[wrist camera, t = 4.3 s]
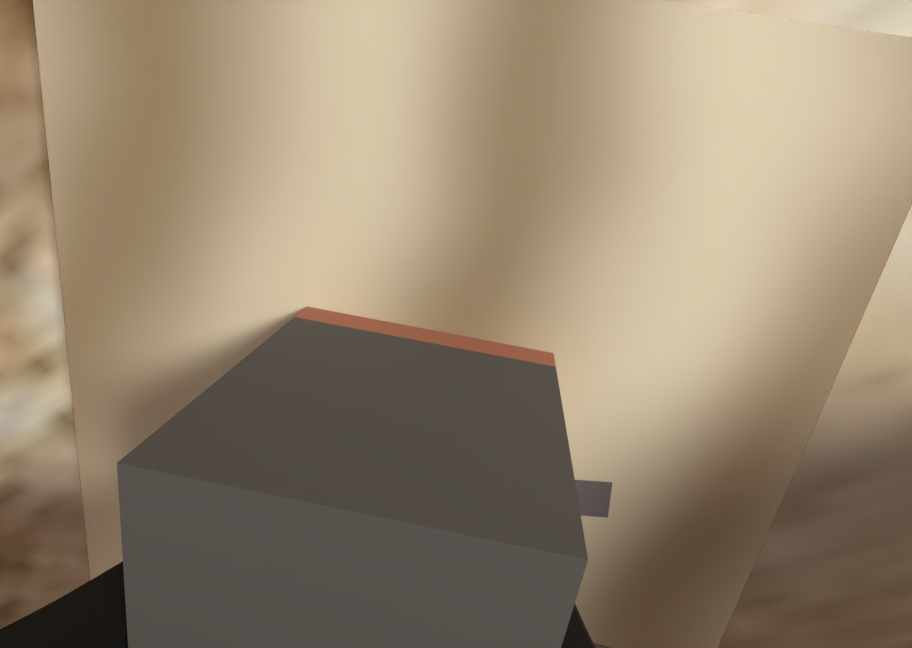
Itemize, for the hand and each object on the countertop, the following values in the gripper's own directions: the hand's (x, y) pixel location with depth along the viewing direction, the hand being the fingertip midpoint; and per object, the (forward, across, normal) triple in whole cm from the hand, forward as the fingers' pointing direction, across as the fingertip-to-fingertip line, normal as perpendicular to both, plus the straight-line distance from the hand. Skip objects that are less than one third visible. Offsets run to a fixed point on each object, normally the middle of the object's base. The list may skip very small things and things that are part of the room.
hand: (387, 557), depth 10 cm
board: (+2, 0, 0) cm, 2 cm away
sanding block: (+1, 0, 0) cm, 1 cm away
